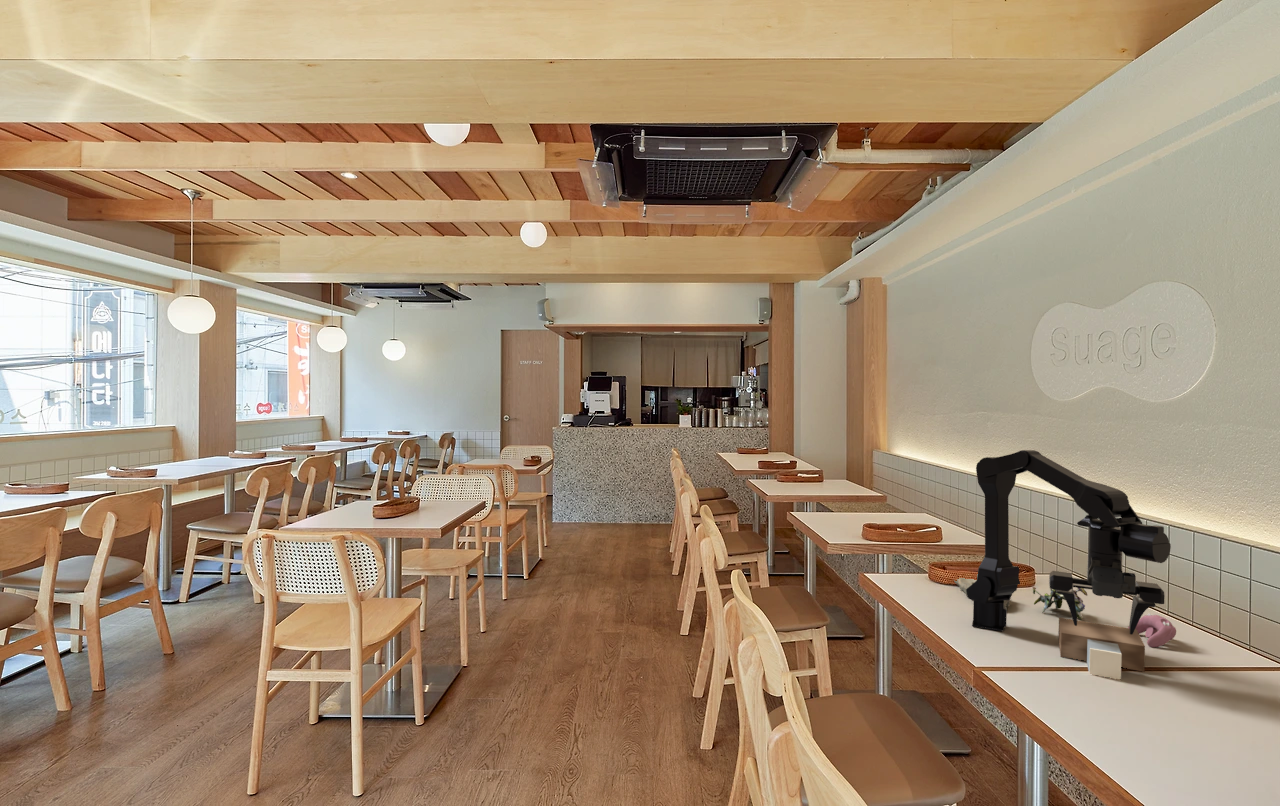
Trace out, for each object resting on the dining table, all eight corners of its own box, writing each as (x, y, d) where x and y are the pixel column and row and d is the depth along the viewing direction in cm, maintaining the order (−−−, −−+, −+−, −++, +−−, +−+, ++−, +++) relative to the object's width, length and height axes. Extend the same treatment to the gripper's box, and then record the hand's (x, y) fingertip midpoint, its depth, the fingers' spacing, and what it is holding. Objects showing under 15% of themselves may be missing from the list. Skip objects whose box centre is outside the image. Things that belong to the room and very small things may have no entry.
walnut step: (1060, 656, 140) (1061, 632, 140) (1058, 640, 151) (1058, 617, 151) (1144, 671, 134) (1145, 646, 134) (1135, 652, 144) (1136, 629, 144)
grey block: (1086, 663, 137) (1089, 674, 131) (1087, 639, 137) (1090, 648, 131) (1117, 669, 135) (1120, 680, 129) (1117, 644, 135) (1121, 654, 129)
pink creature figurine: (1168, 656, 147) (1185, 629, 146) (1147, 645, 148) (1164, 617, 147) (1143, 641, 156) (1159, 615, 156) (1123, 630, 157) (1139, 604, 157)
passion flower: (1077, 640, 167) (1096, 609, 160) (1028, 626, 171) (1045, 596, 164) (1071, 604, 176) (1090, 574, 169) (1025, 592, 179) (1041, 562, 172)
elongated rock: (981, 584, 204) (945, 583, 206) (980, 566, 205) (945, 565, 207) (1020, 612, 170) (977, 611, 172) (1019, 591, 170) (976, 589, 172)
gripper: (1051, 552, 134) (1049, 632, 134) (1170, 566, 124) (1168, 651, 124) (1050, 543, 143) (1048, 617, 143) (1160, 555, 134) (1158, 634, 134)
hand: (1102, 629), depth 136 cm, fingers open, 9 cm apart
